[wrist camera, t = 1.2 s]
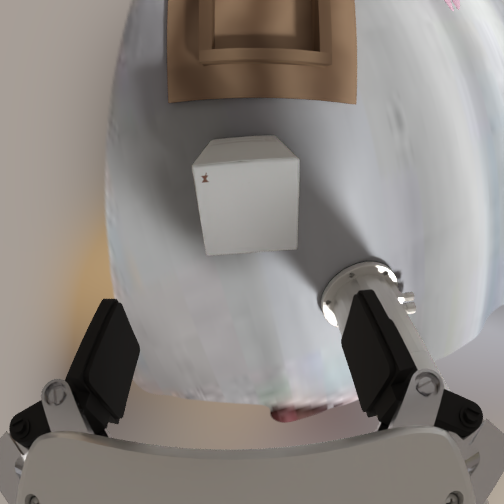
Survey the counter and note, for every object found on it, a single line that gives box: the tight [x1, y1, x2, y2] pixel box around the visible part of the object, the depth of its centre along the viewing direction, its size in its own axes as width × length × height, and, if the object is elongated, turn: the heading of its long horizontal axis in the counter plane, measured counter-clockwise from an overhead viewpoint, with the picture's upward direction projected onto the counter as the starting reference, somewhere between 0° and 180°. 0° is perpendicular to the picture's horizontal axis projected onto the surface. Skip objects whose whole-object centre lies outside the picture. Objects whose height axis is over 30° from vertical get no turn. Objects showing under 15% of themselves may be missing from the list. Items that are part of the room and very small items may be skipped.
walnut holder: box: [167, 0, 357, 104], centre depth 19 cm, size 20×20×4 cm
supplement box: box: [192, 135, 300, 256], centre depth 25 cm, size 7×7×13 cm
